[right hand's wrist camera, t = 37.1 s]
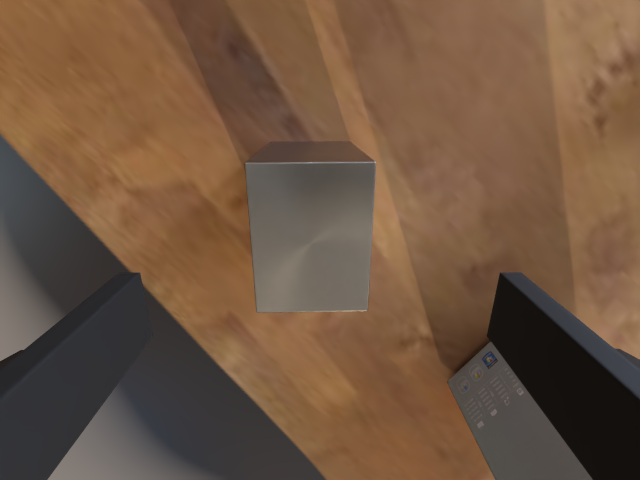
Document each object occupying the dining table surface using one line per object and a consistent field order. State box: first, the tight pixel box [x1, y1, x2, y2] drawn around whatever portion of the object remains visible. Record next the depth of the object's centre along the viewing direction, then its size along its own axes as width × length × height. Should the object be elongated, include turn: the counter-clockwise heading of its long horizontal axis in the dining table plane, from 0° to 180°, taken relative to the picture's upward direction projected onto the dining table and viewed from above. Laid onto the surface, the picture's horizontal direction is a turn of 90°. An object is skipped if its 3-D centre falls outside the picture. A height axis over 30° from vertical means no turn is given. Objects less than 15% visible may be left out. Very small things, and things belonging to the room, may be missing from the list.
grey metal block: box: [245, 142, 376, 313], centre depth 24 cm, size 7×9×12 cm
